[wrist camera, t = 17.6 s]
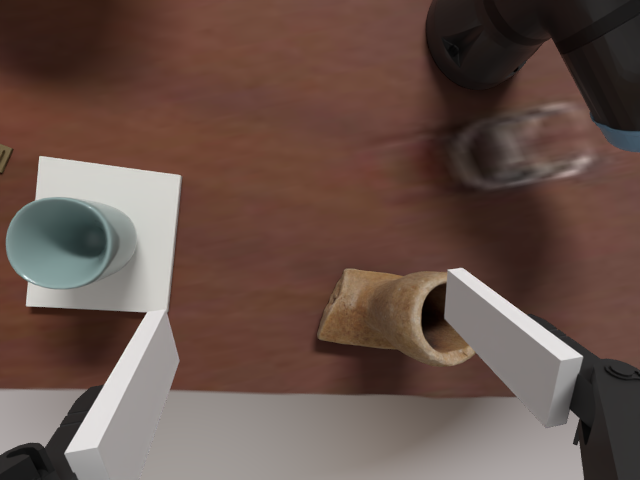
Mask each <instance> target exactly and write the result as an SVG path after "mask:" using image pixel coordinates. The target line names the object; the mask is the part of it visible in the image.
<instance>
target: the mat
mask: <svg viewBox="0 0 640 480" xmlns="http://www.w3.org/2000/svg"><path fill="white" fill-rule="evenodd" d="M181 183H182V176H181V175H174V174H167V173H160V172H152V171H145V170H138V169H131V168H123V167H116V166H109V165H102V164H94V163H87V162H80V161H73V160H65V159H58V158H51V157H43V156H39V167H38V178H37V189H36V200H39V199H43V198H49V197H71V198H79V199H85V200H90V201H95V202H100V203H104V204H107V205H110V206H112V207H115V208H117V209H119V210H120V211H122V212H124V213H125V214H126V215H127V216H128V217H129V218H130V219H131V220H132V222H133V223H134V225H135V228H136V231H137V246H136V250H135V253H134V255H133V257H132V258H131V260H130V261H129V263H128V264H127V265H126V266H125V267H124V268H122V269H121V270H120V271H118V272H116V273H115V274H113V275H111V276H109V277H107V278H105V279H103V280H100V281H98V282H95V283H92V284H89V285H86V286H83V287H80V288H74V289H49V288H44V287H40V286H37V285H34V284H32V283H30V282H28V290H27V301H26V306H34V307H54V308H73V309H92V310H112V311H131V312H149V311H157V310H164V309H166V311H167V312H168V311H169V302H170V292H171V282H172V272H173V262H174V252H175V243H176V233H177V223H178V213H179V203H180V193H181ZM36 200H35V201H36Z"/></svg>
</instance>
